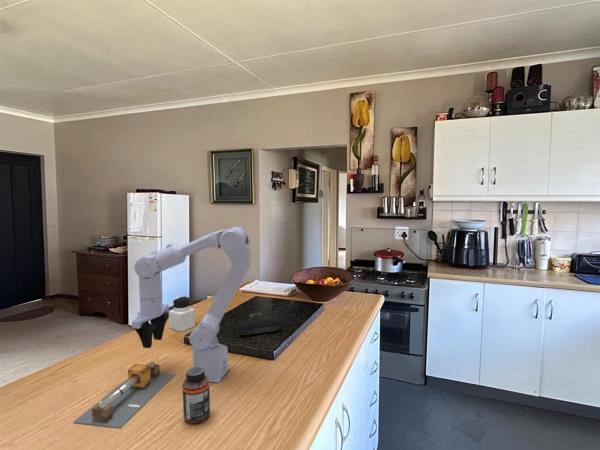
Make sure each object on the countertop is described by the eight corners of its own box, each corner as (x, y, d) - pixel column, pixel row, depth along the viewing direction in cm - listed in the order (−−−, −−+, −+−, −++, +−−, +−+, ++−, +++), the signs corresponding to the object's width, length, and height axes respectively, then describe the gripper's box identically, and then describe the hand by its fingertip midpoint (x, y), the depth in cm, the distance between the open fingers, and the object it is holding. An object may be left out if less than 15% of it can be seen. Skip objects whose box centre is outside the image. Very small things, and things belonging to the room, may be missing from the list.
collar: (150, 381, 91) (149, 365, 91) (143, 387, 89) (143, 370, 88) (135, 380, 92) (135, 363, 92) (128, 386, 89) (127, 369, 89)
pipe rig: (175, 374, 97) (174, 360, 96) (120, 428, 74) (119, 410, 74) (137, 371, 99) (136, 357, 98) (73, 422, 76) (72, 405, 76)
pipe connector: (236, 314, 132) (273, 310, 137) (236, 327, 133) (273, 322, 138) (240, 325, 122) (280, 320, 126) (241, 339, 122) (280, 333, 127)
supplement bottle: (187, 409, 81) (185, 364, 80) (212, 407, 81) (211, 363, 80) (180, 425, 75) (178, 377, 74) (207, 424, 75) (206, 376, 75)
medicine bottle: (195, 326, 133) (194, 296, 132) (180, 332, 127) (179, 301, 126) (183, 322, 137) (183, 294, 136) (168, 328, 131) (167, 298, 130)
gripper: (153, 289, 103) (154, 332, 104) (120, 304, 88) (123, 353, 90) (174, 290, 102) (175, 333, 103) (144, 305, 87) (147, 355, 88)
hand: (152, 343), depth 96 cm, fingers open, 5 cm apart
